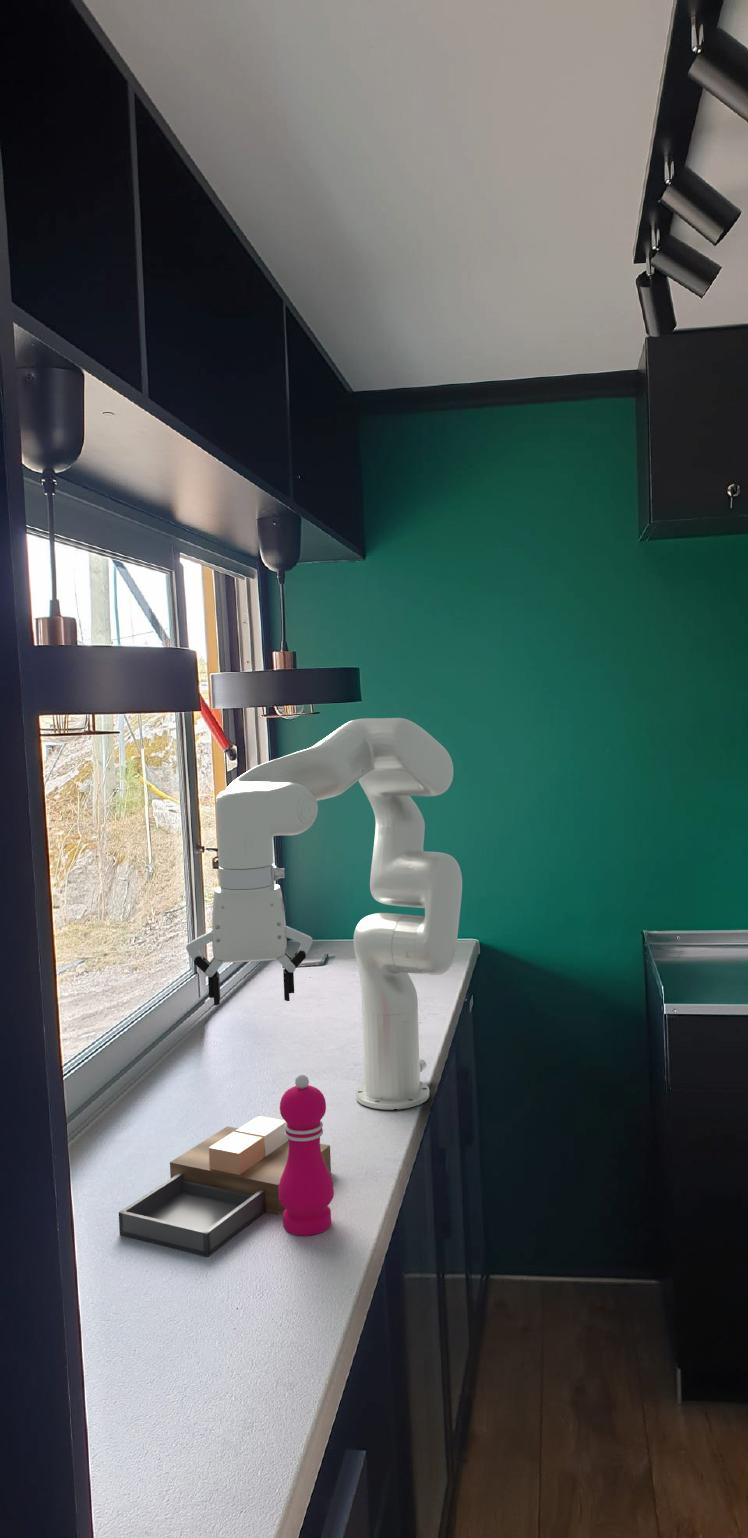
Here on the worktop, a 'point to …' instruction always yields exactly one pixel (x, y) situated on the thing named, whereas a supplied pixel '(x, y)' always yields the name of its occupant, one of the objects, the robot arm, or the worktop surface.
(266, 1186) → the walnut block
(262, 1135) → the tile cream
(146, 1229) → the bin
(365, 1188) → the worktop surface
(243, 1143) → the tan rectangular block
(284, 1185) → the pepper mill
